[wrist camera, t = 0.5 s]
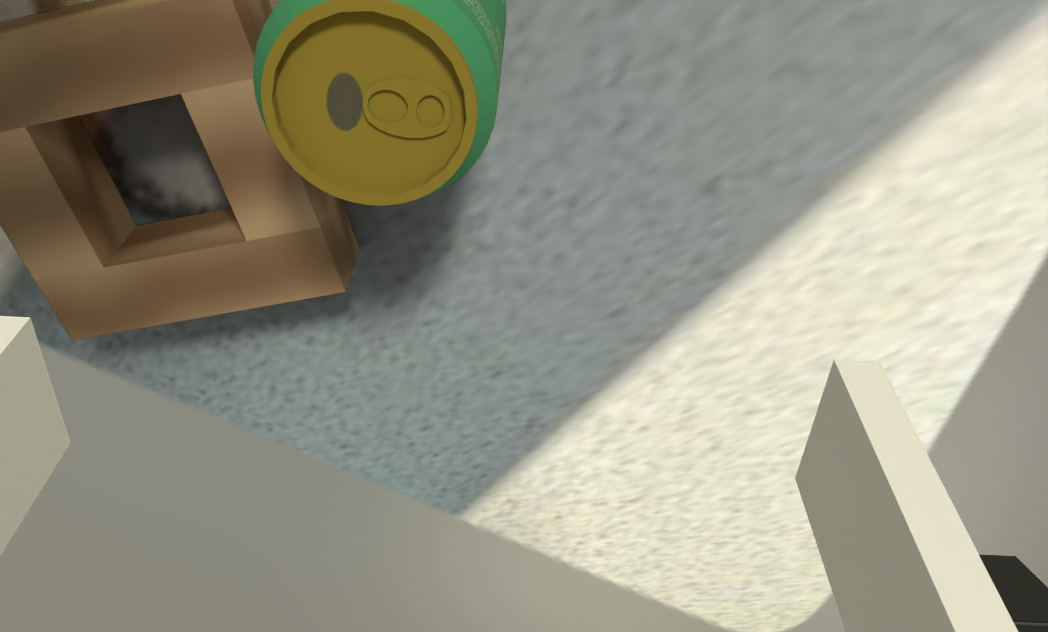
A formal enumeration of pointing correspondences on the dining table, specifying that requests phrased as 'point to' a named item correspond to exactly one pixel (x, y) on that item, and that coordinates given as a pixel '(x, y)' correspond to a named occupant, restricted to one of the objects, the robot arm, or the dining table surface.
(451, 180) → the beverage can
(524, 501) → the dining table surface
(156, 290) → the hole block
